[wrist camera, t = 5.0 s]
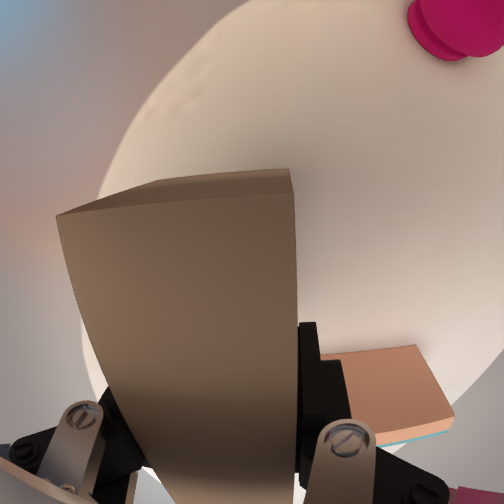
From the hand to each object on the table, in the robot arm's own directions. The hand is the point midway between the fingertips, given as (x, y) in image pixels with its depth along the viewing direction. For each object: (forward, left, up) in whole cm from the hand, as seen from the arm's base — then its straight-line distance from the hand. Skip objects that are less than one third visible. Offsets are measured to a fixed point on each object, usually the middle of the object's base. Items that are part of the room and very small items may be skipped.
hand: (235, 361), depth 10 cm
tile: (-9, +12, -15) cm, 21 cm away
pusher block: (0, 0, -1) cm, 1 cm away
